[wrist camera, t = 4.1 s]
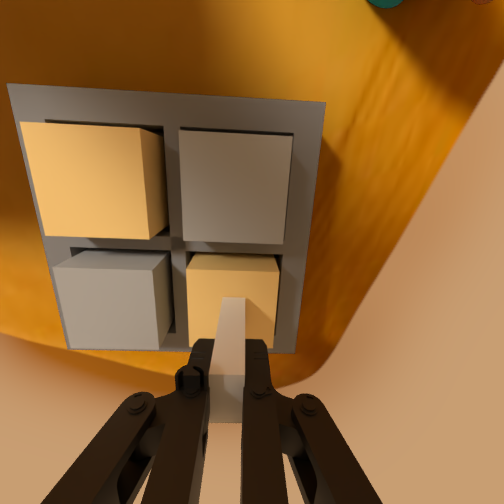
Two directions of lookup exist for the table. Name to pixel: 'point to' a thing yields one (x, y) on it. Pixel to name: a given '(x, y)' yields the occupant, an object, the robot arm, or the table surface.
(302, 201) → the button board
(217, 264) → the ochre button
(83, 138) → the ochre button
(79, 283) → the grey button far left
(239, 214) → the grey button near right
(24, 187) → the table surface
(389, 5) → the toy
